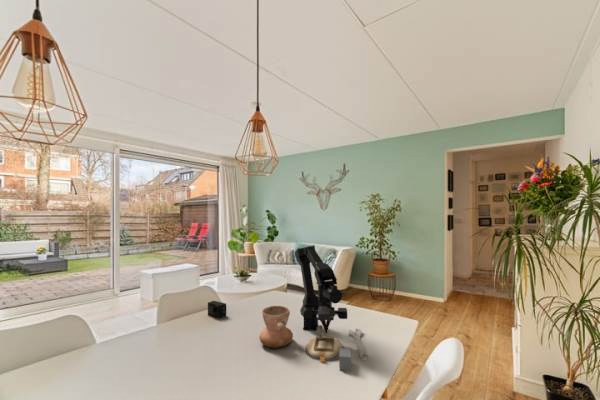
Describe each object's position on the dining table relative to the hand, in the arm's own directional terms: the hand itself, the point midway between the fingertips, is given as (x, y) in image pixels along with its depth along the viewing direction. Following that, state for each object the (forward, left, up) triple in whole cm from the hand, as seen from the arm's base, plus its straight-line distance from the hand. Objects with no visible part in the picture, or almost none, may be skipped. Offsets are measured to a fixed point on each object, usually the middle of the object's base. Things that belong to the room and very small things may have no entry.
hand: (326, 332), depth 119 cm
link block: (+8, -17, -4) cm, 19 cm away
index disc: (0, -7, -4) cm, 8 cm away
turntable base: (0, -7, -4) cm, 8 cm away
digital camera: (-63, +23, -4) cm, 67 cm away
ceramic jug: (-22, -3, -4) cm, 22 cm away
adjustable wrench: (+13, +1, -5) cm, 14 cm away
